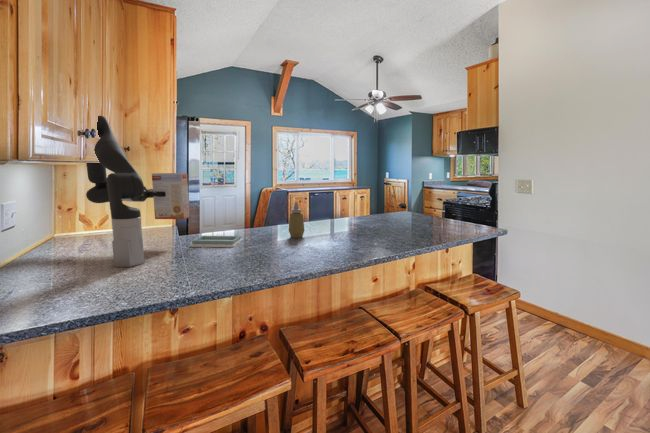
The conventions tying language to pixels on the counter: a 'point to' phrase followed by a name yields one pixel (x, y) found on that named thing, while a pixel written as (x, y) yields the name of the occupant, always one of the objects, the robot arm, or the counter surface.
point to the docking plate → (216, 241)
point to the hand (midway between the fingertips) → (168, 193)
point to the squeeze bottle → (296, 222)
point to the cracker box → (171, 195)
